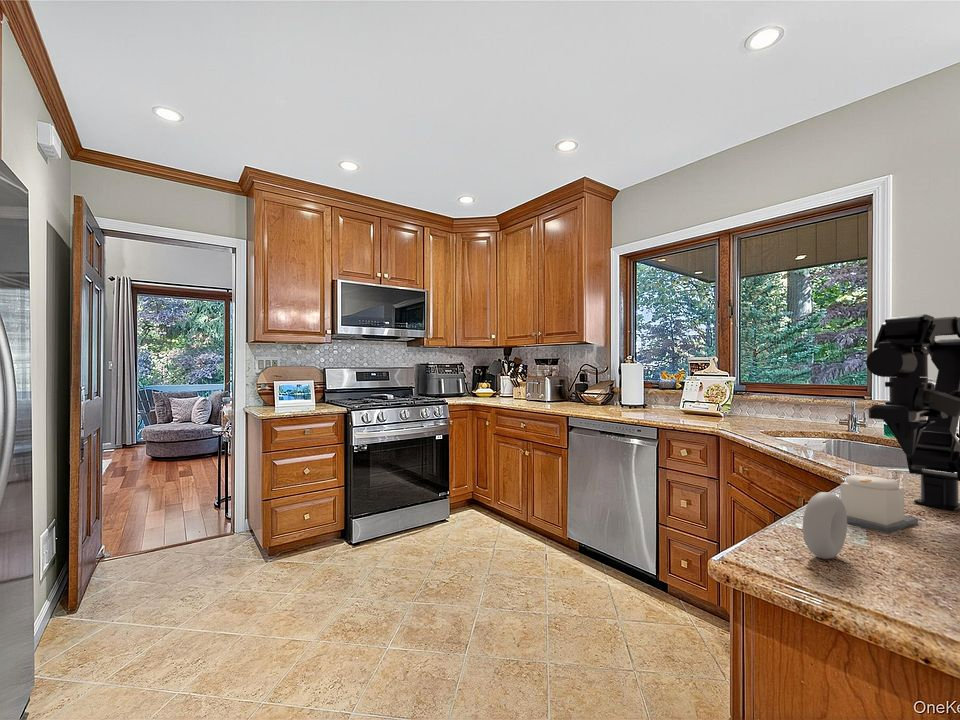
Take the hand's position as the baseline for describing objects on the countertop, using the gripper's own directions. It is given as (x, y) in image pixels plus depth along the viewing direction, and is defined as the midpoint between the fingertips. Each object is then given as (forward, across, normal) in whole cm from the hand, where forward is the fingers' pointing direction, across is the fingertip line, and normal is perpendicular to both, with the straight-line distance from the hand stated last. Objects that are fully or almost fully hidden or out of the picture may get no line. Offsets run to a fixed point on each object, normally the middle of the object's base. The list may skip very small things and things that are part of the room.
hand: (909, 454), depth 92 cm
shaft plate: (+12, -12, +2) cm, 17 cm away
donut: (+12, -40, -4) cm, 42 cm away
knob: (+11, -13, +1) cm, 17 cm away
